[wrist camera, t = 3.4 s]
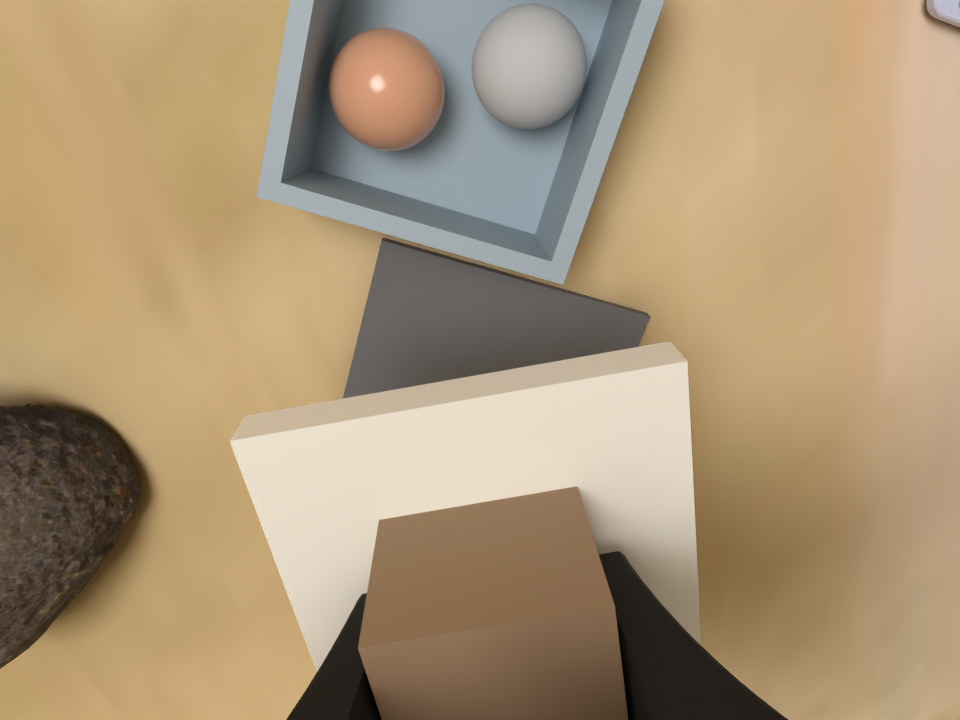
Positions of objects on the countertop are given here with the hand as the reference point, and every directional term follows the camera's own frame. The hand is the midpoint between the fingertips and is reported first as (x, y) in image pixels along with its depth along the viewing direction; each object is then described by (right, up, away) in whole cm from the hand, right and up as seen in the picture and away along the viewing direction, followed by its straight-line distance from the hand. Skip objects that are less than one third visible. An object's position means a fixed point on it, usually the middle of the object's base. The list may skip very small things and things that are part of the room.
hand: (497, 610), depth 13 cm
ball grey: (+1, +13, +5) cm, 14 cm away
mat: (0, +4, +9) cm, 10 cm away
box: (-1, +13, +6) cm, 14 cm away
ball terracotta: (-3, +13, +5) cm, 14 cm away
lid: (0, +1, +1) cm, 2 cm away
